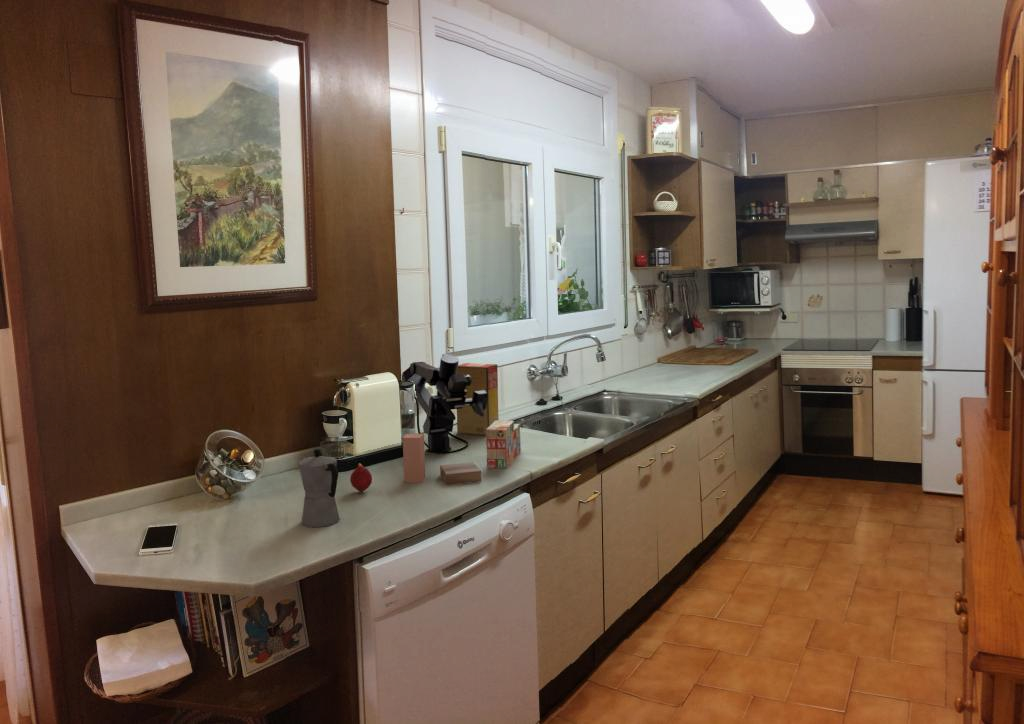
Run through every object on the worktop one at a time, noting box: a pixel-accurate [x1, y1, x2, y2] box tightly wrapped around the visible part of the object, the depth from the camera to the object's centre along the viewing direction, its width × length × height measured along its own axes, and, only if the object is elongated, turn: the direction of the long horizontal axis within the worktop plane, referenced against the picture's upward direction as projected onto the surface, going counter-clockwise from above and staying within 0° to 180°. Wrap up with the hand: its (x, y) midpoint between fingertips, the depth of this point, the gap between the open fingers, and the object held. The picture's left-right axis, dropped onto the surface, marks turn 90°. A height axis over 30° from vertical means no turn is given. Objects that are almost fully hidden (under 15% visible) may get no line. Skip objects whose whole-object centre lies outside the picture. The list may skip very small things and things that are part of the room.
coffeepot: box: [297, 448, 341, 528], centre depth 182 cm, size 15×9×18 cm, turn 43°
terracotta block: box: [402, 433, 427, 483], centre depth 217 cm, size 5×5×13 cm
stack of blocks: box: [485, 420, 522, 469], centre depth 237 cm, size 21×6×12 cm, turn 168°
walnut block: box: [439, 461, 482, 486], centre depth 218 cm, size 10×10×4 cm
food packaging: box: [456, 362, 500, 437], centre depth 276 cm, size 13×9×25 cm
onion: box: [349, 463, 373, 493], centre depth 206 cm, size 6×6×8 cm
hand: (469, 417), depth 226 cm, fingers open, 9 cm apart
